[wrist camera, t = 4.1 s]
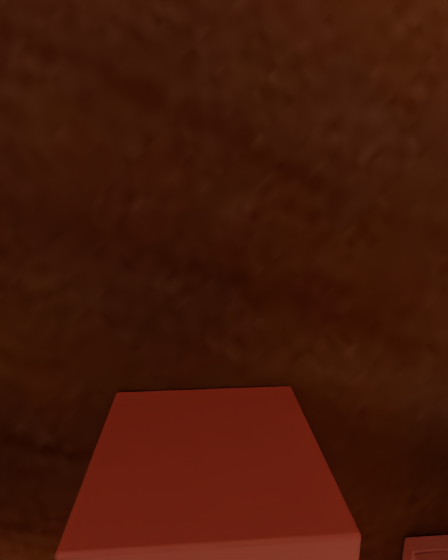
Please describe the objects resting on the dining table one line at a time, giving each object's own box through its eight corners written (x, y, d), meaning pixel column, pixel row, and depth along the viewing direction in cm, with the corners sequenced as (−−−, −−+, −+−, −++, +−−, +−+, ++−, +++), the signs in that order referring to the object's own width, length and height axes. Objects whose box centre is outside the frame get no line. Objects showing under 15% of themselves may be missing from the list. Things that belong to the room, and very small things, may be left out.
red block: (115, 391, 10) (52, 555, 5) (291, 385, 10) (364, 535, 6) (126, 536, 11) (80, 770, 7) (284, 526, 11) (341, 743, 7)
